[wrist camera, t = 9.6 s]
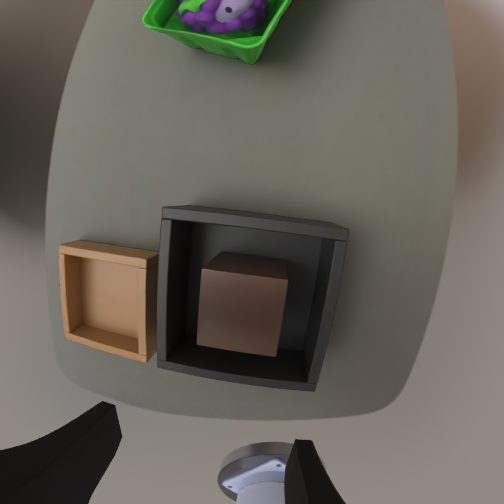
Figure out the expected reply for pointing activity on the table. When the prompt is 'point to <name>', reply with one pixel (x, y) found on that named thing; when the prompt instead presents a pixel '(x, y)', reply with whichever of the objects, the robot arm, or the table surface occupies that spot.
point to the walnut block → (242, 303)
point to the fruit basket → (218, 24)
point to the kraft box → (110, 297)
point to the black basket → (296, 304)
